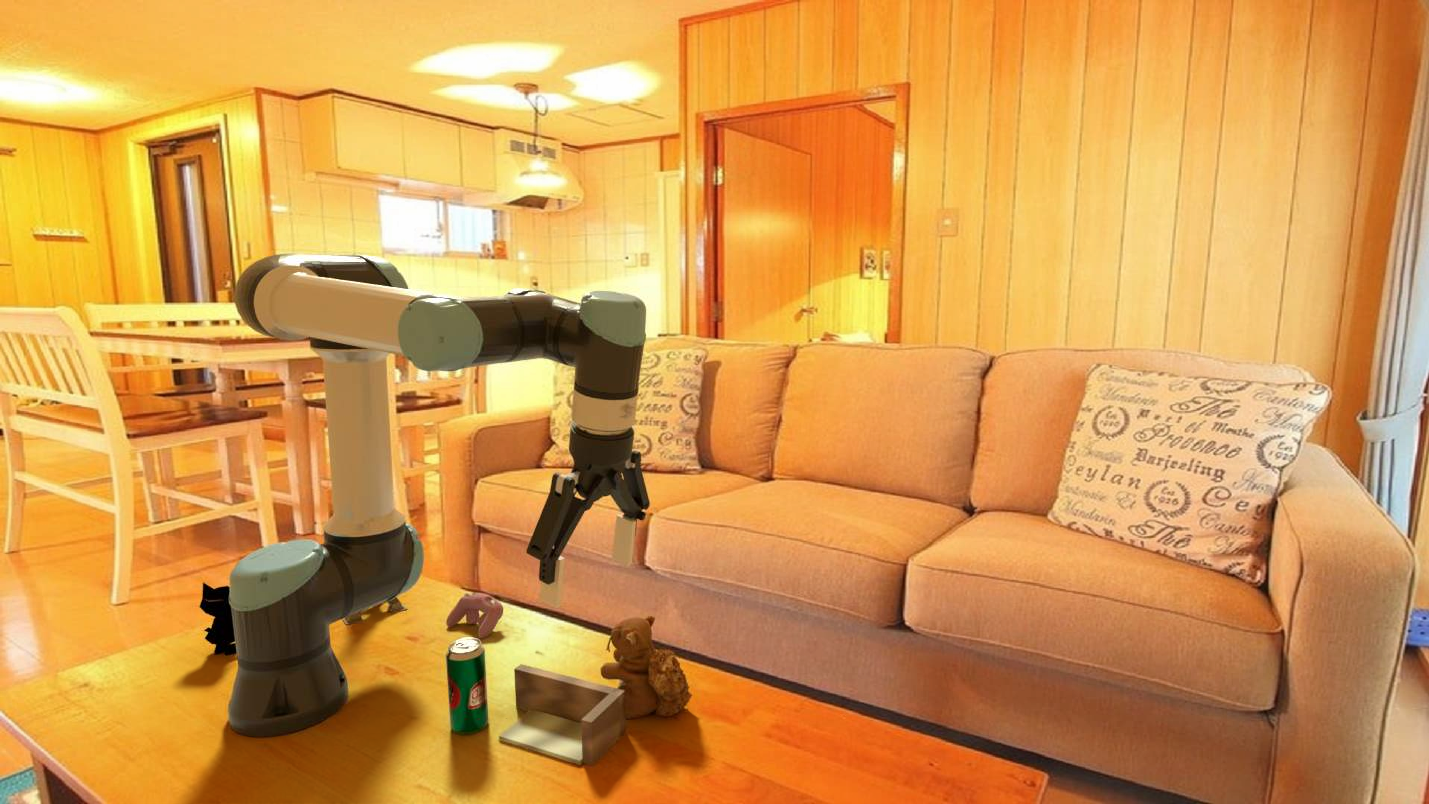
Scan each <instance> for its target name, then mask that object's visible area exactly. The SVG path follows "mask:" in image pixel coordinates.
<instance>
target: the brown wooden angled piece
mask: <svg viewBox="0 0 1429 804" xmlns="http://www.w3.org/2000/svg"><path fill="white" fill-rule="evenodd" d="M513 670H514V671H513V672H514V689H515V690H514V692H515V708H517V707H518V709H520V708H522V709H521V710H524V709H525V710H524V711H527V710H528V712H526V713H525V714H524V715H523V716H521V718H519V719H518V720H516V721H515V722H514V723H513V724H511V726H509V727H508V728H507V729H506V730H504V731H503V732H502V733H501V734H500V735H498V740H499V741H501V740H502V741H501V742H505V743H507V744H510V743H511V744H510V745H514V746H517V747H520V746H521V747H520V748H523V749H526V748H528V749H527V750H530V751H533V752H536V751H538V752H537V753H539V752H540V754H543V755H545V756H549V757H552V758H556V759H559V760H561V761H562V760H563V761H565V762H568V763H571V764H576V765H578V766H581V765H582V764H586V765H589V766H591V767H593V766H594V765H595V764H596V763H597V762H598V761H599V760H600V759H601V758H602V756H603V755H605V753H607V751H608V750H610V748H612V746H613V745H614V744H615V743H616V742H617V741H618V740H619V739H620V738H621V737H622V736H623V735H624V734H625V733H626V732H627V729H626V726H627V725H626V722H627V721H626V718H625V691H624V690H621V689H617V688H618V687H617V688H616V687H612V686H608V685H605V684H600V683H596V682H592V681H589V680H585V679H582V678H576V677H574V676H570V675H566V674H561V673H558V672H555V671H549V670H546V669H542V668H538V667H534V666H530V665H527V664H524V663H523V664H522V663H520V664H519V665H517V666H516V667H515V668H514V669H513Z"/></svg>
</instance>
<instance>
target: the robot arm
mask: <svg viewBox="0 0 1429 804" xmlns="http://www.w3.org/2000/svg"><path fill="white" fill-rule="evenodd" d="M234 287H235V288H234V295H233V297H234V305H235V308H236V312H237V313H238V315H239V317H240V318H241V319H242V321H244V323H245V324H246V326H248V327H249V328H251V329H252V330H254V331H255V332H256V333H258V334H260V335H262V336H266V337H270V338H275V339H279V340H284V341H291V342H292V341H295V342H296V341H300V340H301V341H302V340H305V339H309V348H310V350H312V352H314V353H315V354H316V355H317V356H319V357H320V359H321V360H322V366H323V369H322V370H323V379H324V380H323V381H324V383H323V384H324V396H325V397H324V398H325V408H326V409H325V410H326V425H327V439H328V440H327V441H328V450H329V452H328V455H329V467H330V481H331V482H330V483H331V495H332V509H333V515H331V517H329V519H328V520H327V521H326V522H324V524H323V543H321V544H320V543H319V542H318V541H316V540H313V539H307V538H305V539H303V538H300V539H297V538H296V539H292V540H291V539H290V540H289V541H286V542H284V541H280V542H277V543H273V544H269V545H266V546H264V547H262V548H259V549H257V550H255V551H253V552H251V553H249V554H247V555H245V556H244V557H243V558H241V560H239V561H238V562H237V563H236V564H235V566H234V567H233V569H231V571H230V574H229V587H230V594H229V604H230V605H231V611H232V619H233V627H234V635H235V642H234V643H236V651H237V653H236V658H237V671H236V675H235V679H234V682H233V687H232V691H231V697H230V700H229V702H228V704H227V714H228V723H229V726H230V728H231V729H232V730H233V731H235V733H238V734H241V735H243V736H248V737H256V738H257V737H261V738H262V737H263V738H264V737H274V736H280V735H285V734H289V733H294V732H297V731H300V730H303V729H307V728H308V727H311V726H313V725H316V724H319V723H320V722H322V721H324V720H326V719H328V718H329V717H330V716H332V715H333V714H335V713H336V712H338V711H339V710H340V709H341V708H342V707H343V705H345V703H346V701H347V700H348V697H349V686H348V685H349V684H348V677H347V676H346V675H347V674H346V673H345V671H344V669H343V668H342V665H341V663H340V661H339V660H338V657H337V655H336V654H335V651H334V650H333V648H332V645H331V636H330V634H331V633H330V625H332V624H333V623H335V622H338V621H340V620H343V619H345V618H346V617H348V616H351V615H353V614H356V613H358V612H360V613H361V612H364V611H365V610H368V609H371V608H373V607H376V606H378V605H380V604H383V603H388V601H391V600H392V599H394V598H396V597H397V598H398V597H399V596H401V595H402V594H405V593H406V592H408V591H410V590H411V589H412V588H413V587H414V586H415V585H416V584H417V583H418V581H419V579H420V577H421V574H422V572H423V569H424V563H425V552H424V551H425V550H424V546H423V542H422V540H421V539H419V538H418V537H419V533H418V531H417V530H416V528H415V527H414V526H413V525H412V524H410V523H409V522H407V521H406V516H405V514H403V513H402V512H400V511H399V510H397V508H396V507H395V495H394V493H395V492H394V480H393V478H394V475H393V458H392V457H393V456H392V436H391V423H390V401H389V387H388V385H389V384H388V383H389V382H388V368H387V365H388V364H387V358H388V356H389V355H390V354H393V355H397V356H403V357H405V359H406V360H408V361H409V362H411V363H412V365H413V367H415V368H416V369H418V370H421V371H425V372H438V371H439V372H455V371H459V370H463V369H467V368H474V367H481V366H482V367H483V366H489V365H490V366H491V365H496V364H506V363H512V362H513V363H515V362H520V361H528V360H530V361H531V360H537V359H538V360H539V359H544V360H549V361H552V362H556V363H559V364H561V365H565V366H568V367H573V368H574V381H573V382H574V383H573V391H572V403H571V412H570V414H571V415H570V417H571V421H572V423H571V425H570V431H569V439H568V440H569V442H568V451H569V453H570V455H571V457H572V460H573V466H572V469H571V470H570V471H571V472H570V473H566V474H562V473H560V472H556V471H555V472H554V474H553V475H552V477H551V482H550V489H549V493H548V496H547V497H546V500H545V503H544V506H543V509H542V511H541V512H540V516H539V518H538V521H537V523H536V525H535V527H534V531H533V533H532V535H531V538H530V540H529V543H528V546H527V548H526V554H527V555H529V556H531V557H532V558H534V559H536V560H539V567H538V568H539V571H538V579H539V581H540V588H539V601H541V602H543V603H545V604H546V605H548V606H550V607H552V608H553V609H558V608H560V607H561V606H562V605H561V604H562V596H563V595H562V594H563V584H564V583H563V581H564V571H565V570H564V569H565V561H566V560H565V557H564V556H562V553H563V551H564V549H565V547H566V546H567V545H568V542H569V541H570V539H571V537H572V535H573V533H574V531H575V530H576V528H577V526H578V525H579V523H580V521H581V520H582V518H583V515H584V514H585V512H586V511H589V510H590V509H592V506H593V504H594V503H595V502H598V501H599V500H600V499H602V498H603V497H609V496H610V497H611V498H612V500H613V501H614V503H615V504H616V506H617V507H618V508H619V510H620V512H621V513H623V514H621V513H618V514H617V515H616V518H615V519H616V520H615V529H614V538H613V548H612V556H611V557H612V558H611V560H613V561H616V562H617V563H619V564H621V565H624V566H626V567H629V566H631V565H632V561H633V552H634V546H635V545H634V543H635V538H636V534H637V525H638V521H641V522H642V521H643V520H645V518H646V515H647V513H646V512H645V511H648V510H649V508H650V505H651V502H650V499H649V495H648V491H647V486H646V483H645V479H644V478H645V477H644V474H643V471H642V453H641V451H637V450H636V449H633V445H634V438H635V430H634V428H633V426H635V424H636V417H637V405H638V395H639V390H640V385H639V383H640V375H641V369H642V363H643V362H642V361H643V355H644V348H645V342H646V339H647V334H646V325H647V324H646V321H647V320H646V319H647V307H646V305H645V302H644V301H643V300H642V299H641V298H639V297H638V296H635V295H632V294H629V293H625V292H621V293H620V292H616V291H610V290H593V291H592V290H591V291H589V292H588V291H587V292H586V293H584V294H583V295H582V297H581V301H580V302H576V301H573V300H571V299H566V298H564V297H560V296H555V295H552V294H550V293H546V292H545V291H544V290H539V289H537V290H536V289H535V290H533V289H528V288H513V289H512V290H510V291H509V292H508V293H506V294H504V295H496V296H495V295H494V296H460V295H457V296H456V295H450V294H443V293H435V292H430V291H429V292H428V291H422V290H421V291H420V290H414V289H410V288H409V285H408V283H407V281H406V279H405V277H404V276H403V275H402V273H401V272H399V271H398V269H397V267H396V266H395V265H394V264H393V263H391V262H390V261H388V260H387V259H385V258H382V257H378V256H372V255H371V256H369V255H361V254H357V253H356V254H320V253H319V254H318V253H317V254H314V253H313V254H312V253H309V254H308V253H305V254H303V253H280V254H273V255H270V256H269V255H268V256H265V257H263V258H261V259H258V260H256V261H254V262H253V263H252V264H250V265H248V266H247V267H246V269H244V271H243V272H242V273H241V274H240V276H239V277H238V279H237V280H236V283H235V286H234ZM576 494H578V495H579V496H580V497H577V496H576ZM643 510H644V511H643Z"/></svg>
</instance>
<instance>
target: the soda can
mask: <svg viewBox="0 0 1429 804" xmlns="http://www.w3.org/2000/svg"><path fill="white" fill-rule="evenodd" d="M447 649H448V650H447V651H446V652H445V664H446V665H445V667H446V679H447V694H448V698H447V699H448V711H449V726H450V729H452V730H453V731H454V732H455V733H457V734H460V735H470V734H473V733H477V732H478V731H479V732H480V731H481V730H482V729H483V728H484V727H485V726H486V725H487V723H488V721H489V706H488V687H487V685H488V684H487V671H486V670H487V669H486V668H487V667H486V650H485V647H484V646H483V645H482V641H481V639H480V638H475V637H463V638H460V639H456V640H454V641H453V642H451V643H450V644H449V645H448V647H447Z"/></svg>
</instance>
